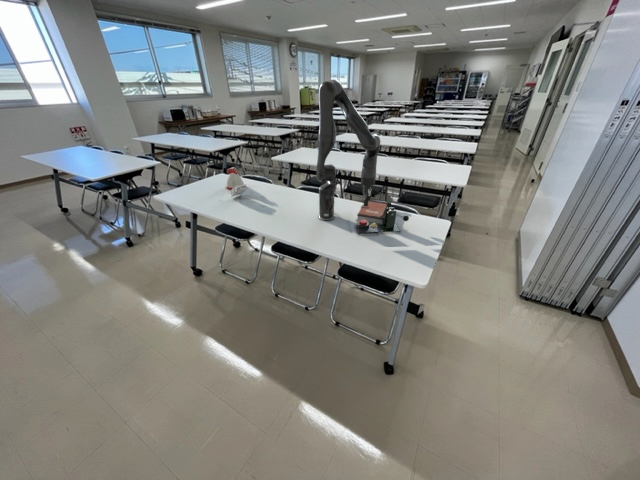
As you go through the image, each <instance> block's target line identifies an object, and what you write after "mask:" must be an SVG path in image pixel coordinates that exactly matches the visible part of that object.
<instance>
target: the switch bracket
mask: <svg viewBox="0 0 640 480" xmlns="http://www.w3.org/2000/svg"><path fill="white" fill-rule="evenodd" d="M389 209H391V210H390V211H388V210H389ZM387 212H388V213H387ZM397 212H398V211H397V210H396V209H395V207H392V206H391V208H386V214H385V221H384V224H381V223H377V228H379V230H380V233H392V232H397V233H398V232H401V229H400V228H399V227H398V225H397V224H396V218H397V216H396V213H397Z"/></svg>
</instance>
